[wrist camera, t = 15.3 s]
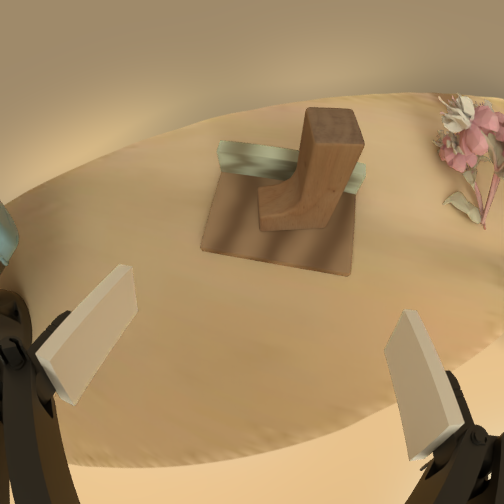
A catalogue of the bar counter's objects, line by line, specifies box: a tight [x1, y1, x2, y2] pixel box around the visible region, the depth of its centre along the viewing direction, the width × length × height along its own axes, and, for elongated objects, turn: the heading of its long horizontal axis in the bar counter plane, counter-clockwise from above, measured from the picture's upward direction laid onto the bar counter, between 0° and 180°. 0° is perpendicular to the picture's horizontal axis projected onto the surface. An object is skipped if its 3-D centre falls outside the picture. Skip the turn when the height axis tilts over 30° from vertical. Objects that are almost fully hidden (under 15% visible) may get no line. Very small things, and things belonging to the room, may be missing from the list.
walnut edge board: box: [200, 140, 366, 276], centre depth 37 cm, size 20×14×6 cm
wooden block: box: [257, 107, 365, 231], centre depth 30 cm, size 9×4×18 cm, turn 93°
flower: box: [432, 93, 504, 230], centre depth 32 cm, size 20×22×25 cm
